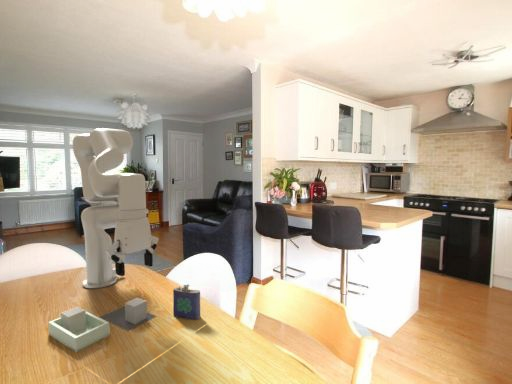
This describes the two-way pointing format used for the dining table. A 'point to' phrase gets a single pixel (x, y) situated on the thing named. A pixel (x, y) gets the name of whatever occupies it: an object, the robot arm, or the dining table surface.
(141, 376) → the dining table surface
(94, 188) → the robot arm
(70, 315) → the stone
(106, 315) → the mat
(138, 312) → the grey block
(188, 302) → the flask
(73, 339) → the bin
